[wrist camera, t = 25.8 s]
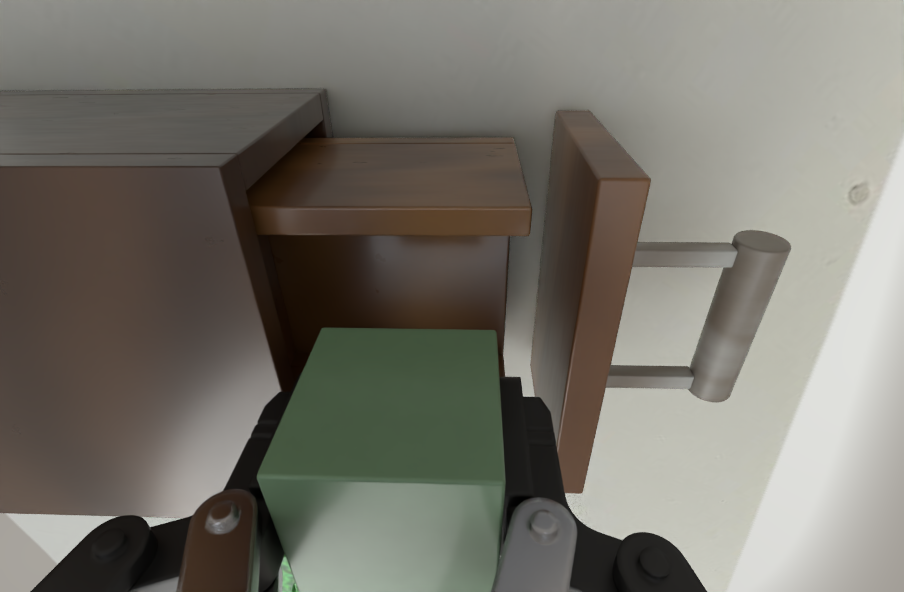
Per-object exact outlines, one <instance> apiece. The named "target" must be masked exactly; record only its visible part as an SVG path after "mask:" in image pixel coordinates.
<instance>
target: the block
mask: <svg viewBox="0 0 904 592" xmlns="http://www.w3.org/2000/svg"><path fill="white" fill-rule="evenodd" d="M257 480H258V483H259V486H260V488H261V491H262V494H263V496H264V499H265V502H266V505H267V507H268V510H269V513H270V515H271V518H272V521H273V523H274V526H275V529H276V532H277V534H278V537H279V540H280V542H281V545H282V548H283V550H284V553H285V556H286V559H287V561H288V564H289V567H290V569H291V572H292V575H293V578H294V580H295V583H296V586H297V588H298V591H299V592H491V589H492V586H493V582H494V578H495V575H496V571H497V568H498V564H499V560H500V550H501V537H502V524H503V510H504V497H505V484H506V480H505V463H504V446H503V430H502V413H501V396H500V380H499V363H498V346H497V333H496V331H495V330H461V329H393V328H322V329H321V331H320V333H319V335H318V338H317V340H316V342H315V344H314V347H313V349H312V351H311V353H310V356H309V358H308V360H307V362H306V365H305V367H304V369H303V371H302V374H301V376H300V378H299V380H298V383H297V385H296V387H295V390H294V392H293V394H292V396H291V399H290V401H289V403H288V405H287V408H286V410H285V412H284V414H283V417H282V419H281V421H280V423H279V426H278V428H277V430H276V432H275V435H274V437H273V439H272V441H271V444H270V446H269V448H268V450H267V453H266V455H265V457H264V459H263V462H262V464H261V466H260V469H259V471H258V473H257Z"/></svg>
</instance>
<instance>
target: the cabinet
mask: <svg viewBox="0 0 904 592" xmlns="http://www.w3.org/2000/svg"><path fill="white" fill-rule="evenodd" d="M303 138H333V134H332V128H331V121H330V114H329V107H328V100H327V93H326V89H324V88H320V89H179V90H37V91H0V513H18V514H55V515H91V516H124V515H136V516H139V517H165V518H186V517H190V516H192V515H193V514H194V513H195V511H196V510H197V508H198V507H199V506H200V505H201V504H202V503H203V502H204V501H206V500H207V499H208V498H210V497H211V496H213V495H215V494H217V493H219V492H221V491H223V489H224V488H225V486H226V484H227V482H228V480H229V478H230V476H231V474H232V472H233V470H234V468H235V466H236V464H237V462H238V460H239V458H240V456H241V454H242V451H243V449H244V447H245V445H246V443H247V441H248V439H249V438H251V433H252V431H253V429H254V427H255V425H257V421H258V419H259V417H260V415H261V413H262V411H263V409H264V407H265V405H266V404H267V403H268V402H269V401H270V400H271V399H272V398H273V397H275V396H276V395H277V394H278V393H279V392H291V390H292V388H293V385H294V383H295V381H294V377H293V373H292V369H291V365H290V361H289V357H288V353H287V350H286V346H285V342H284V338H283V334H282V330H281V326H280V322H279V319H278V315H277V311H276V307H275V303H274V299H273V295H272V291H271V287H270V284H269V280H268V276H267V272H266V268H265V264H264V260H263V256H262V253H261V249H260V245H259V241H258V237H257V233H256V229H255V225H254V221H253V218H252V214H251V210H250V206H249V202H248V198H247V194H246V190H248V189H249V188H250V187H251V186H252V185H253V184H254V183H255V182H256V181H257V180H258V179H259V178H260V177H262V176H263V175H264V174H265V173H266V172H267V171H268V170H269V169H270V168H271V167H272V166H273V165H275V164H276V163H277V162H278V161H279V160H280V159H281V158H282V157H283V156H284V155H285V154H286V153H287V152H289V151H290V150H291V149H292V148H293V147H294V146H295V145H296V144H297V143H298V142H299V141H300V140H302V139H303Z"/></svg>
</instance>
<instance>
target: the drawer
mask: <svg viewBox="0 0 904 592" xmlns="http://www.w3.org/2000/svg"><path fill="white" fill-rule="evenodd" d="M650 182H651V179H650V178H649V176H648V175H647V174H646V173H645V172H644V171H643V170H642V169H641V168H640V166H639V165H638V164H637V163H636V162H635V161H634V160H633V159H632V157H631V156H630V155H629V154H628V153H627V152H626V151H625V150H624V149H623V147H622V146H621V145H620V144H619V143H618V142H617V141H616V140H615V138H614V137H613V136H612V135H611V134H610V133H609V132H608V131H607V130H606V128H605V127H604V126H603V125H602V124H601V123H600V122H599V121H598V119H597V118H596V117H595V116H594V115H593V114H592V113H591V112H590V111H556V113H555V123H554V133H553V143H552V153H551V163H550V173H549V183H548V193H547V203H546V213H545V223H544V233H543V243H542V253H541V263H540V273H539V284H538V294H537V304H536V314H535V324H534V334H533V344H532V354H531V364H530V366H531V372H532V379H533V386H534V393H535V397H540V398H541V399H542V400H543V402H544V403H545V405H546V406H547V407H548V409H549V410H550V412H551V417H552V423H553V428H554V434H555V440H556V446H557V451H558V457H559V463H560V469H561V475H562V480H563V486H564V492H565V493H583V488H584V484H585V479H586V475H587V470H588V466H589V461H590V456H591V452H592V447H593V443H594V438H595V434H596V429H597V424H598V420H599V415H600V411H601V406H602V402H603V397H604V392H605V388H666V389H688V390H689V391H690V392H691V393H692V394H693V395H695V396H696V397H698V398H700V399H702V400H705V401H709V402H722V401H725V400H727V399H728V398H729V397H730V394H731V392H732V390H733V387H734V385H735V382H736V380H737V378H738V375H739V373H740V370H741V368H742V365H743V363H744V361H745V358H746V356H747V353H748V351H749V349H750V346H751V344H752V341H753V339H754V337H755V334H756V332H757V329H758V327H759V325H760V322H761V320H762V317H763V315H764V313H765V310H766V308H767V305H768V303H769V301H770V298H771V296H772V293H773V291H774V289H775V286H776V284H777V281H778V279H779V277H780V274H781V272H782V269H783V267H784V265H785V262H786V260H787V257H788V255H789V252H790V250H791V245H790V243H789V242H788V241H787V240H785V239H784V238H782V237H780V236H777V235H775V234H772V233H768V232H763V231H755V230H746V231H741V232H738V233H737V234H736V235H735V236H734V238H733V241H732V244H731V243H701V242H638V237H639V233H640V228H641V224H642V219H643V214H644V210H645V205H646V201H647V196H648V192H649V187H650ZM246 194H247V198H248V202H249V206H250V210H251V214H252V218H253V221H254V225H255V229H256V233H257V237H258V241H259V245H260V249H261V253H262V256H263V260H264V264H265V268H266V272H267V276H268V280H269V284H270V287H271V291H272V295H273V299H274V303H275V307H276V311H277V315H278V319H279V322H280V326H281V330H282V334H283V338H284V342H285V346H286V350H287V353H288V357H289V361H290V365H291V369H292V373H293V377H294V381H296V379H297V377H298V375H299V374H300V373H302V371H303V369H304V367H305V365H306V362H307V360H308V358H309V356H310V353H311V351H312V349H313V347H314V344H315V342H316V340H317V338H318V335H319V333H320V331H321V329H322V328H393V329H461V330H495V331H496V333H497V346H498V363H499V377H505V370H504V357H503V349H504V332H505V315H506V298H507V281H508V264H509V246H510V236H529V234H530V228H531V216H532V207H531V203H530V199H529V195H528V191H527V187H526V183H525V180H524V176H523V172H522V168H521V164H520V160H519V156H518V152H517V149H516V145H515V142H514V138H512V137H459V138H303V139H302V140H300V141H299V142H298V143H297V144H296V145H295V146H294V147H293V148H292V149H291V150H290V151H289V152H287V153H286V154H285V155H284V156H283V157H282V158H281V159H280V160H279V161H278V162H277V163H276V164H275V165H273V166H272V167H271V168H270V169H269V170H268V171H267V172H266V173H265V174H264V175H263V176H262V177H260V178H259V179H258V180H257V181H256V182H255V183H254V184H253V185H252V186H251V187H250V188H249V189H248V190H246ZM632 267H724V268H723V270H722V273H721V276H720V279H719V282H718V285H717V288H716V291H715V294H714V297H713V300H712V303H711V306H710V309H709V312H708V315H707V318H706V321H705V324H704V327H703V330H702V333H701V336H700V338H699V341H698V344H697V347H696V350H695V353H694V356H693V359H692V362H691V365H690V368H689V367H687V366H624V365H611V361H612V356H613V351H614V347H615V342H616V338H617V333H618V329H619V324H620V319H621V315H622V310H623V306H624V301H625V297H626V292H627V287H628V283H629V278H630V274H631V269H632Z"/></svg>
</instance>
